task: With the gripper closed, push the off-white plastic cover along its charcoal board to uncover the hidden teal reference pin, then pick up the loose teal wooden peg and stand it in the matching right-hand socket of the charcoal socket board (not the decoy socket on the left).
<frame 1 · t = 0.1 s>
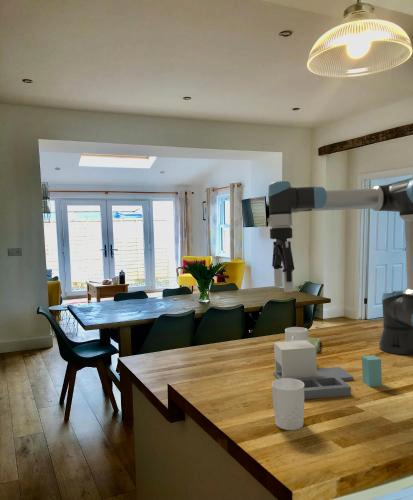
hand: (283, 289, 134), 28 cm above the counter, fingers open, 13 cm apart
cover: (294, 359, 126), point 6 cm above the counter, slide at 0.0 cm
socket board: (317, 390, 116), on the counter
layout board: (295, 378, 126), on the counter
washcloth: (304, 348, 162), on the counter
mug: (296, 363, 142), on the counter
white cup: (289, 424, 96), on the counter
peg: (372, 383, 119), on the counter
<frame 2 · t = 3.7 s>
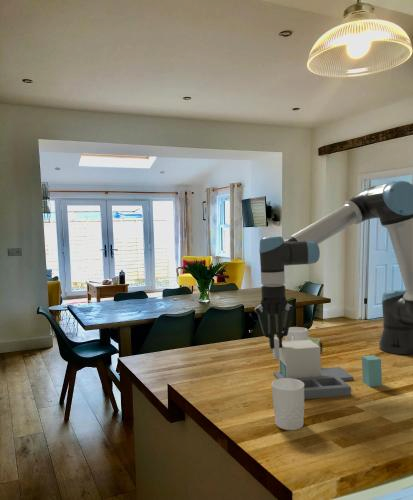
hand: (276, 358, 126), 7 cm above the counter, fingers closed
cover: (298, 359, 126), point 6 cm above the counter, slide at 1.3 cm, touching gripper
everything else where it was.
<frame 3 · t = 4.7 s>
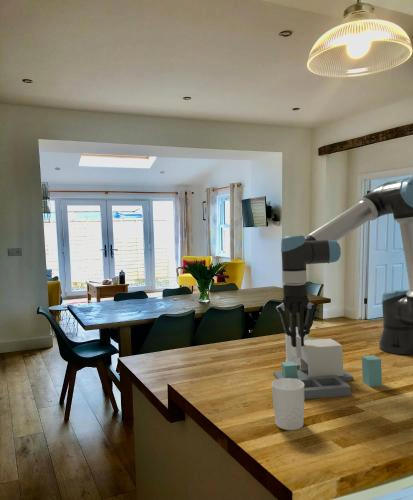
hand: (298, 356, 126), 7 cm above the counter, fingers closed
cover: (320, 357, 127), point 6 cm above the counter, slide at 8.5 cm, touching gripper
everything else where it was.
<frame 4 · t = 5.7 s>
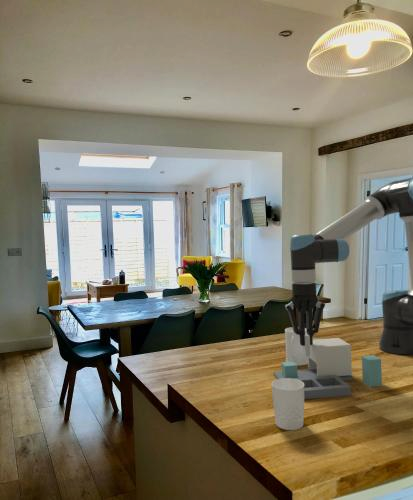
hand: (306, 355, 126), 7 cm above the counter, fingers closed
cover: (328, 357, 127), point 6 cm above the counter, slide at 11.3 cm, touching gripper
everything else where it was.
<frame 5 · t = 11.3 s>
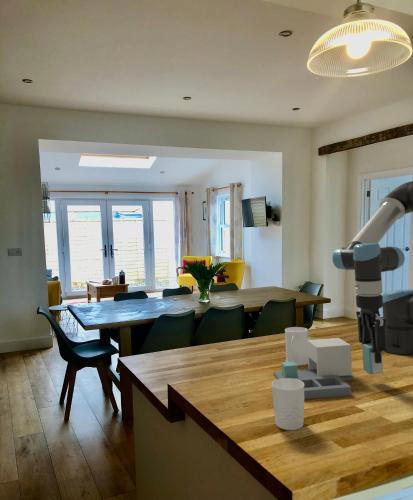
hand: (373, 370, 119), 4 cm above the counter, fingers closed on peg, 4 cm apart
cover: (328, 357, 127), point 6 cm above the counter, slide at 11.3 cm
peg: (373, 371, 119), point 4 cm above the counter, touching gripper
everything else where it was.
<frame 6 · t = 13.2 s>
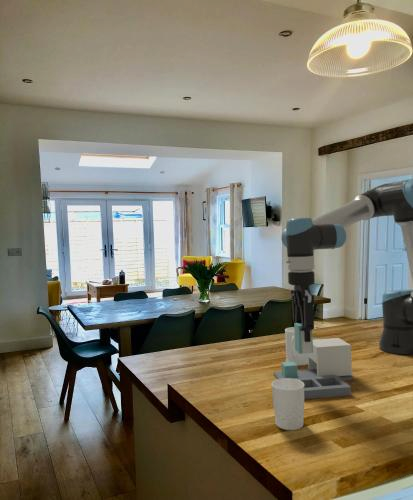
hand: (304, 350, 115), 12 cm above the counter, fingers closed on peg, 4 cm apart
peg: (303, 351, 115), point 12 cm above the counter, touching gripper
everything else where it was.
when the fingers open (3 cm above the counter, at t = 15.1 s): peg drops 2 cm, resting in socket board.
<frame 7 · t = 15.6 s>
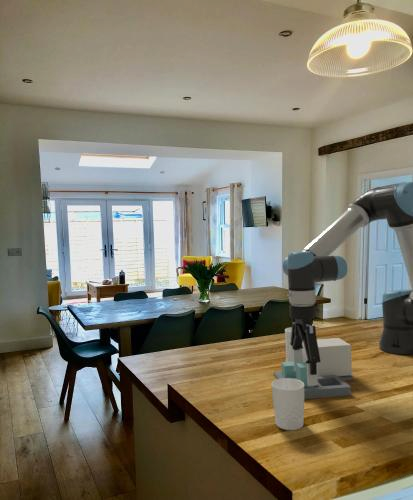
hand: (305, 377, 115), 4 cm above the counter, fingers open, 11 cm apart
peg: (305, 391, 115), resting in socket board
everything else where it was.
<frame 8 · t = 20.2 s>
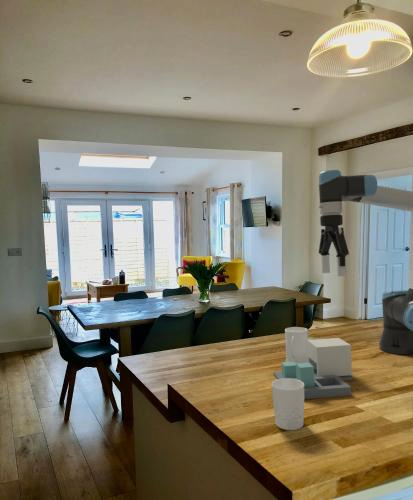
hand: (333, 274, 139), 32 cm above the counter, fingers open, 13 cm apart
at the end: cover slide at 11.3 cm; peg 0.1 cm from the target spot on the socket board, point 0.0 cm above the socket board's base; peg tilted 0° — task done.
